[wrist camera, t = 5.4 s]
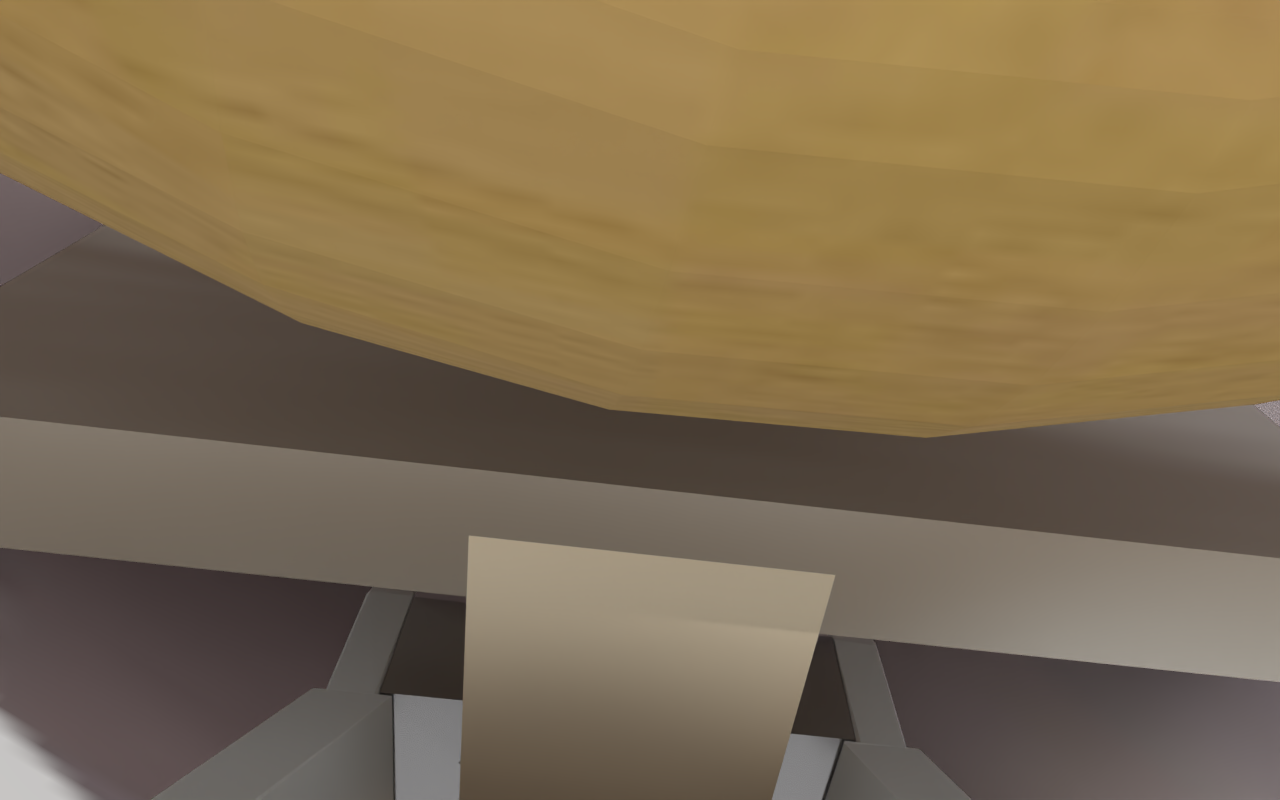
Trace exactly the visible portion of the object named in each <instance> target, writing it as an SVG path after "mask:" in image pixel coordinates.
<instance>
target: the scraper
mask: <svg viewBox="0 0 1280 800" xmlns="http://www.w3.org/2000/svg"><path fill="white" fill-rule="evenodd" d="M0 548H8V549H18V550H27V551H37V552H46V553H56V554H66V555H75V556H85V557H94V558H104V559H113V560H123V561H132V562H142V563H151V564H161V565H170V566H180V567H189V568H199V569H208V570H218V571H227V572H237V573H246V574H256V575H265V576H275V577H284V578H294V579H303V580H313V581H322V582H332V583H341V584H351V585H360V586H370V587H379V588H389V589H398V590H408V591H417V592H427V593H436V594H446V595H455V596H465V597H466V625H465V653H464V680H463V708H462V736H461V763H460V791H459V800H772V797H773V794H774V790H775V787H776V783H777V780H778V776H779V773H780V769H781V766H782V762H783V759H784V755H785V752H786V748H787V744H788V741H789V737H790V734H791V730H792V727H793V723H794V720H795V716H796V713H797V709H798V706H799V702H800V699H801V695H802V692H803V688H804V685H805V681H806V678H807V674H808V671H809V667H810V663H811V660H812V656H813V653H814V649H815V646H816V642H817V639H818V635H819V634H826V635H836V636H845V637H855V638H864V639H874V640H883V641H893V642H902V643H912V644H921V645H931V646H940V647H950V648H959V649H969V650H978V651H988V652H997V653H1007V654H1016V655H1026V656H1035V657H1045V658H1055V659H1064V660H1074V661H1083V662H1093V663H1102V664H1112V665H1121V666H1131V667H1140V668H1150V669H1159V670H1169V671H1178V672H1188V673H1197V674H1207V675H1216V676H1226V677H1235V678H1245V679H1254V680H1264V681H1273V682H1280V427H1279V426H1278V425H1277V424H1276V423H1274V422H1273V421H1272V420H1271V419H1270V418H1269V417H1267V416H1266V415H1265V414H1264V413H1263V412H1262V411H1260V410H1259V409H1258V408H1257V407H1256V406H1255V405H1245V406H1235V407H1225V408H1216V409H1206V410H1196V411H1186V412H1176V413H1166V414H1156V415H1146V416H1137V417H1127V418H1117V419H1107V420H1097V421H1087V422H1077V423H1067V424H1058V425H1048V426H1038V427H1028V428H1018V429H1008V430H998V431H988V432H979V433H969V434H959V435H949V436H939V437H929V438H922V437H911V436H900V435H888V434H877V433H866V432H855V431H844V430H832V429H821V428H810V427H799V426H787V425H776V424H765V423H754V422H743V421H731V420H720V419H709V418H698V417H687V416H675V415H664V414H653V413H642V412H631V411H619V410H608V409H605V408H601V407H598V406H594V405H591V404H587V403H583V402H580V401H576V400H573V399H569V398H566V397H562V396H559V395H555V394H552V393H548V392H544V391H541V390H537V389H534V388H530V387H527V386H523V385H520V384H516V383H512V382H509V381H505V380H502V379H498V378H495V377H491V376H488V375H484V374H481V373H477V372H473V371H470V370H466V369H463V368H459V367H456V366H452V365H449V364H445V363H441V362H438V361H434V360H431V359H427V358H424V357H420V356H417V355H413V354H410V353H406V352H402V351H399V350H395V349H392V348H388V347H385V346H381V345H378V344H374V343H370V342H367V341H363V340H360V339H356V338H353V337H349V336H346V335H342V334H338V333H335V332H331V331H328V330H324V329H321V328H317V327H314V326H310V325H307V324H303V323H300V322H298V321H296V320H294V319H292V318H290V317H288V316H286V315H284V314H282V313H280V312H278V311H276V310H274V309H272V308H270V307H268V306H266V305H264V304H262V303H260V302H258V301H256V300H254V299H252V298H250V297H248V296H246V295H244V294H242V293H240V292H238V291H236V290H234V289H232V288H230V287H228V286H226V285H224V284H222V283H220V282H218V281H216V280H214V279H212V278H210V277H208V276H206V275H204V274H202V273H200V272H198V271H196V270H194V269H192V268H190V267H188V266H186V265H184V264H182V263H180V262H178V261H176V260H174V259H172V258H170V257H168V256H166V255H164V254H162V253H160V252H158V251H156V250H154V249H152V248H150V247H148V246H146V245H144V244H142V243H140V242H138V241H136V240H134V239H132V238H130V237H128V236H126V235H124V234H122V233H120V232H118V231H116V230H114V229H112V228H110V227H108V226H106V225H104V226H102V227H101V228H99V229H97V230H95V231H94V232H92V233H90V234H89V235H87V236H85V237H84V238H82V239H80V240H78V241H77V242H75V243H73V244H72V245H70V246H68V247H67V248H65V249H63V250H61V251H60V252H58V253H56V254H55V255H53V256H51V257H50V258H48V259H46V260H45V261H43V262H41V263H39V264H38V265H36V266H34V267H33V268H31V269H29V270H28V271H26V272H24V273H22V274H21V275H19V276H17V277H16V278H14V279H12V280H11V281H9V282H7V283H5V284H4V285H2V286H0Z"/></svg>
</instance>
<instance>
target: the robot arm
mask: <svg viewBox="0 0 1280 800" xmlns="http://www.w3.org/2000/svg"><path fill="white" fill-rule="evenodd" d="M465 625H466V597H465V596H455V595H446V594H436V593H427V592H417V591H408V590H398V589H389V588H379V587H372V589H371V590H370V591H369V592H368V593H367V594H366V597H365V599H364V601H363V604H362V606H361V608H360V611H359V613H358V615H357V618H356V620H355V622H354V625H353V627H352V629H351V632H350V634H349V636H348V639H347V641H346V643H345V646H344V648H343V650H342V653H341V655H340V657H339V660H338V662H337V664H336V667H335V669H334V671H333V674H332V676H331V678H330V681H329V683H328V685H327V688H326V689H320V688H312V689H310V690H309V691H307V692H306V693H305V694H303V695H302V696H300V697H299V698H297V699H296V700H294V701H293V702H292V703H290V704H289V705H287V706H286V707H284V708H283V709H281V710H280V711H278V712H277V713H276V714H274V715H273V716H271V717H270V718H268V719H267V720H265V721H264V722H262V723H261V724H260V725H258V726H257V727H255V728H254V729H252V730H251V731H249V732H248V733H247V734H245V735H244V736H242V737H241V738H239V739H238V740H236V741H235V742H233V743H232V744H231V745H229V746H228V747H226V748H225V749H223V750H222V751H220V752H219V753H217V754H216V755H215V756H213V757H212V758H210V759H209V760H207V761H206V762H204V763H203V764H202V765H200V766H199V767H197V768H196V769H194V770H193V771H191V772H190V773H188V774H187V775H186V776H184V777H183V778H181V779H180V780H178V781H177V782H175V783H174V784H172V785H171V786H170V787H168V788H167V789H165V790H164V791H162V792H161V793H159V794H158V795H156V796H155V797H154V798H152V799H151V800H459V791H460V763H461V736H462V708H463V680H464V653H465ZM772 800H972V799H971V798H970V797H969V796H968V795H966V794H965V793H964V792H963V791H962V790H961V789H960V788H959V787H958V786H957V785H956V784H955V783H954V782H953V781H952V780H951V779H950V778H949V777H948V776H947V775H946V774H945V773H944V772H943V771H942V770H941V769H940V768H939V767H938V766H937V765H936V764H935V763H934V762H933V761H931V760H930V759H929V758H928V757H927V756H926V755H925V754H924V753H923V752H922V751H921V750H920V749H917V748H908V747H906V743H905V740H904V736H903V733H902V730H901V726H900V723H899V720H898V716H897V713H896V709H895V706H894V703H893V699H892V696H891V693H890V689H889V686H888V682H887V679H886V676H885V672H884V669H883V666H882V662H881V659H880V655H879V652H878V649H877V645H876V643H875V642H874V641H873V640H872V639H864V638H855V637H845V636H836V635H826V634H819V635H818V639H817V642H816V646H815V649H814V653H813V656H812V660H811V663H810V667H809V671H808V674H807V678H806V681H805V685H804V688H803V692H802V695H801V699H800V702H799V706H798V709H797V713H796V716H795V720H794V723H793V727H792V730H791V734H790V737H789V741H788V744H787V748H786V752H785V755H784V759H783V762H782V766H781V769H780V773H779V776H778V780H777V783H776V787H775V790H774V794H773V797H772Z"/></svg>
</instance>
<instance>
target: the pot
mask: <svg viewBox="0 0 1280 800" xmlns="http://www.w3.org/2000/svg"><path fill="white" fill-rule="evenodd" d="M0 173H1V174H3V175H5V176H7V177H9V178H11V179H13V180H15V181H17V182H19V183H21V184H23V185H25V186H28V187H30V188H32V189H34V190H36V191H38V192H40V193H42V194H44V195H46V196H48V197H50V198H52V199H54V200H56V201H58V202H60V203H62V204H64V205H66V206H68V207H70V208H72V209H74V210H76V211H78V212H80V213H82V214H84V215H86V216H88V217H90V218H92V219H94V220H96V221H98V222H100V223H102V224H104V225H106V226H108V227H110V228H112V229H114V230H116V231H118V232H120V233H122V234H124V235H126V236H128V237H130V238H132V239H134V240H136V241H138V242H140V243H142V244H144V245H146V246H148V247H150V248H152V249H154V250H156V251H158V252H160V253H162V254H164V255H166V256H168V257H170V258H172V259H174V260H176V261H178V262H180V263H182V264H184V265H186V266H188V267H190V268H192V269H194V270H196V271H198V272H200V273H202V274H204V275H206V276H208V277H210V278H212V279H214V280H216V281H218V282H220V283H222V284H224V285H226V286H228V287H230V288H232V289H234V290H236V291H238V292H240V293H242V294H244V295H246V296H248V297H250V298H252V299H254V300H256V301H258V302H260V303H262V304H264V305H266V306H268V307H270V308H272V309H274V310H276V311H278V312H280V313H282V314H284V315H286V316H288V317H290V318H292V319H294V320H296V321H298V322H300V323H303V324H307V325H310V326H314V327H317V328H321V329H324V330H328V331H331V332H335V333H338V334H342V335H346V336H349V337H353V338H356V339H360V340H363V341H367V342H370V343H374V344H378V345H381V346H385V347H388V348H392V349H395V350H399V351H402V352H406V353H410V354H413V355H417V356H420V357H424V358H427V359H431V360H434V361H438V362H441V363H445V364H449V365H452V366H456V367H459V368H463V369H466V370H470V371H473V372H477V373H481V374H484V375H488V376H491V377H495V378H498V379H502V380H505V381H509V382H512V383H516V384H520V385H523V386H527V387H530V388H534V389H537V390H541V391H544V392H548V393H552V394H555V395H559V396H562V397H566V398H569V399H573V400H576V401H580V402H583V403H587V404H591V405H594V406H598V407H601V408H605V409H608V410H619V411H631V412H642V413H653V414H664V415H675V416H687V417H698V418H709V419H720V420H731V421H743V422H754V423H765V424H776V425H787V426H799V427H810V428H821V429H832V430H844V431H855V432H866V433H877V434H888V435H900V436H911V437H922V438H929V437H939V436H949V435H959V434H969V433H979V432H988V431H998V430H1008V429H1018V428H1028V427H1038V426H1048V425H1058V424H1067V423H1077V422H1087V421H1097V420H1107V419H1117V418H1127V417H1137V416H1146V415H1156V414H1166V413H1176V412H1186V411H1196V410H1206V409H1216V408H1225V407H1235V406H1245V405H1255V404H1260V403H1266V402H1271V401H1277V400H1280V0H0Z"/></svg>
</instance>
